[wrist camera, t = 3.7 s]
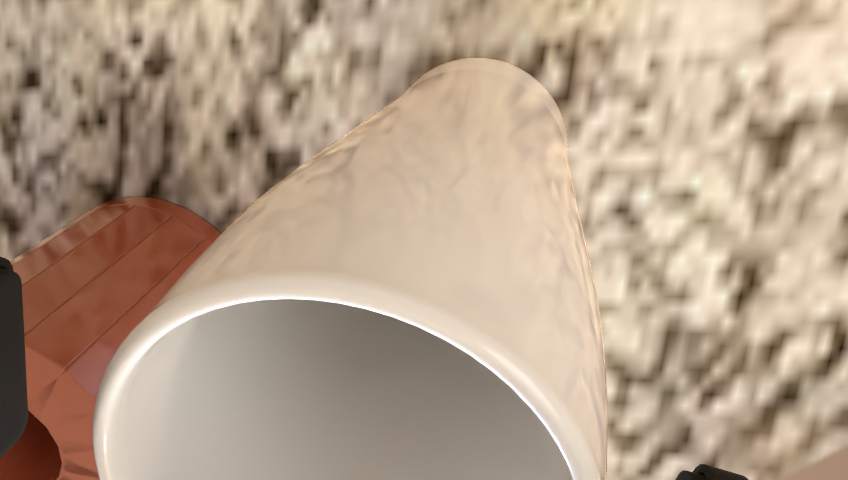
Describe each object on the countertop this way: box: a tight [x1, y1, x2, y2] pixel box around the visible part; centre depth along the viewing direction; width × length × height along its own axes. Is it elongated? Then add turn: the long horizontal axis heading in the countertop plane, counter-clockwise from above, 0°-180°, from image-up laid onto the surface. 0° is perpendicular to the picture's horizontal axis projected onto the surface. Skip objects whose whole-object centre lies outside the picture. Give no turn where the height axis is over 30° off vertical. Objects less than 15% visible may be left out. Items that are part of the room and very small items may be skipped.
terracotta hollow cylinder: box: [0, 197, 221, 480], centre depth 24 cm, size 11×8×8 cm
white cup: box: [93, 57, 607, 480], centre depth 16 cm, size 7×7×15 cm
